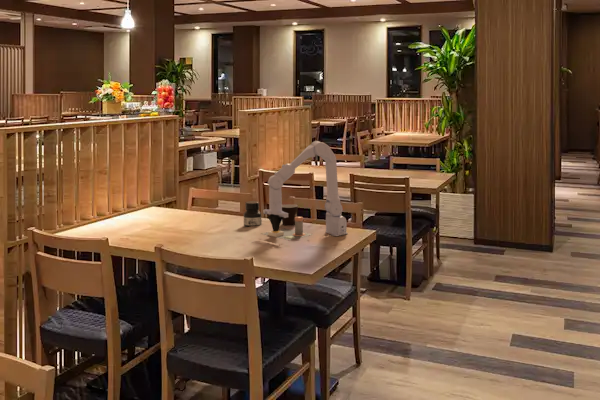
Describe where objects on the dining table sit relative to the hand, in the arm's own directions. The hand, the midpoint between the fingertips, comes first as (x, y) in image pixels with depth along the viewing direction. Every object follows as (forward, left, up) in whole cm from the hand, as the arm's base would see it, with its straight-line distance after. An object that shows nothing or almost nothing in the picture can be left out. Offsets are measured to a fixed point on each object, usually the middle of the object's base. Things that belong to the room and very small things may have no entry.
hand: (275, 231), depth 294 cm
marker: (-7, -8, -2) cm, 11 cm away
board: (-2, -5, -3) cm, 6 cm away
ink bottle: (+26, -9, -3) cm, 28 cm away
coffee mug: (+13, -23, -3) cm, 27 cm away
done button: (0, 0, -1) cm, 1 cm away
